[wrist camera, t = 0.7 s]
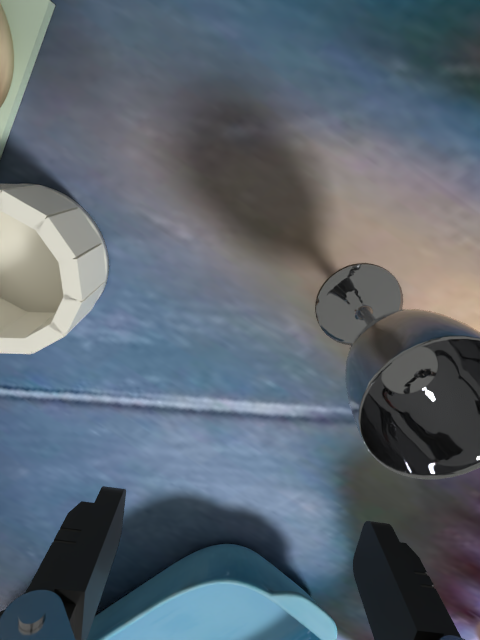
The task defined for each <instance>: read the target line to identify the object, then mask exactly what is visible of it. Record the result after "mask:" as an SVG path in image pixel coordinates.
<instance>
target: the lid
mask: <svg viewBox="0 0 480 640" xmlns="http://www.w3.org/2000/svg"><path fill="white" fill-rule="evenodd" d="M13 70H14V49H13V40H12V35H11V31H10V27H9V24H8V20H7V17H6V14H5V12H4V10H3V7H2V5H1V3H0V108H1V106H2V104H3V103H4V101H5V99H6V97H7V95H8V92H9V90H10V86H11V82H12V78H13Z"/></svg>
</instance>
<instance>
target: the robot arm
mask: <svg viewBox="0 0 480 640" xmlns="http://www.w3.org/2000/svg"><path fill="white" fill-rule="evenodd" d="M125 496H126V489H120V488H112V487H104V486H103V487H102V488H101V490H100V492H99V494H98V496H97V498H96V501H95V503H89V502H80V503H79V504H78V505H77V506H76V507H75V508H74V509H72V510H71V511H70V512H69V513H68V515H67V516H66V518H65V520H64V522H63V524H62V526H61V528H60V530H59V531H58V533H57V535H56V537H55V539H54V542H53V543H52V545H51V546H50V548H49V550H48V552H47V554H46V556H45V558H44V559H43V561H42V563H41V565H40V567H39V569H38V571H37V573H36V574H35V576H34V578H33V580H32V582H31V584H30V586H29V587H28V589H27V591H26V592H25V593H24V595H22V596H20V597H18V598H17V599H15V600H14V601H13V602H12V603H11V604H10V605H9V606H8V607H7V608H6V609H5V610H3V611H1V612H0V640H87V638H88V635H89V632H90V629H91V626H92V623H93V620H94V617H95V614H96V611H97V608H98V605H99V602H100V599H101V596H102V593H103V590H104V587H105V584H106V581H107V578H108V575H109V572H110V569H111V566H112V563H113V560H114V557H115V554H116V551H117V548H118V545H119V541H120V537H121V532H122V525H123V515H124V506H125ZM353 572H354V577H355V581H356V584H357V587H358V590H359V593H360V596H361V599H362V602H363V605H364V609H365V612H366V615H367V618H368V621H369V624H370V627H371V630H372V633H373V636H374V639H375V640H465V639H463V638H461V636H460V634H459V632H458V631H457V629H456V627H455V625H454V623H453V621H452V619H451V617H450V615H449V613H448V612H447V610H446V608H445V606H444V604H443V602H442V600H441V598H440V596H439V594H438V593H437V591H436V589H434V585H433V583H432V581H431V579H430V577H429V576H427V572H426V570H425V568H424V566H423V564H422V562H421V560H420V558H419V557H418V556H417V555H416V554H415V552H414V551H413V550H412V549H411V548H410V547H409V546H408V545H407V544H406V543H401V542H399V540H398V538H397V536H396V534H395V532H394V530H393V528H392V526H391V525H390V524H386V523H378V522H370V521H366V522H365V524H364V526H363V529H362V532H361V535H360V539H359V542H358V545H357V548H356V551H355V555H354V559H353Z"/></svg>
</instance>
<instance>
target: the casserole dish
mask: <svg viewBox="0 0 480 640" xmlns="http://www.w3.org/2000/svg"><path fill="white" fill-rule="evenodd" d="M336 639H337V627H336V624H335V622H334V620H333V619H332V618H331V617H330V616H329V615H328V614H327V613H326V612H325V611H324V610H323V609H322V608H321V607H320V606H318V605H317V604H316V603H315V602H314V600H313V599H312V598H311V597H310V596H309V595H308V594H307V593H306V592H305V591H304V590H303V589H302V588H301V587H299V586H298V585H297V584H296V583H294V582H293V581H292V580H291V579H289V578H288V577H287V576H286V575H285V574H283V573H282V572H281V571H280V570H278V569H277V568H276V567H275V566H273V565H272V564H271V563H270V562H268V561H267V560H266V559H264V558H263V557H262V556H260V555H259V554H257V553H256V552H254V551H252V550H250V549H248V548H246V547H243V546H240V545H235V544H219V545H214V546H210V547H206V548H203V549H201V550H198V551H196V552H194V553H192V554H190V555H188V556H186V557H184V558H183V559H181V560H179V561H177V562H176V563H174V564H173V565H171V566H169V567H168V568H166V569H165V570H163V571H162V572H160V573H159V574H157V575H156V576H154V577H153V578H151V579H150V580H148V581H147V582H145V583H144V584H142V585H141V586H139V587H138V588H136V589H135V590H133V591H132V592H130V593H129V594H127V595H126V596H124V597H123V598H121V599H120V600H118V601H117V602H115V603H114V604H112V605H111V606H109V607H108V608H106V609H105V610H104V611H102V612H101V613H99V614H98V615H96V616H95V617H94V620H93V623H92V626H91V629H90V632H89V635H88V638H87V640H336Z"/></svg>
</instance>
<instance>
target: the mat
mask: <svg viewBox="0 0 480 640" xmlns="http://www.w3.org/2000/svg"><path fill="white" fill-rule="evenodd" d="M0 3H1V5H2V7H3V10H4V12H5V14H6V17H7V20H8V24H9V27H10V31H11V35H12V40H13V49H14V70H13V78H12V82H11V86H10V90H9V92H8V95H7V97H6V99H5V101H4V103H3V104H2V106H1V108H0V159H1V156H2V153H3V150H4V148H5V145H6V142H7V139H8V136H9V134H10V131H11V128H12V125H13V122H14V120H15V117H16V114H17V111H18V108H19V106H20V103H21V100H22V97H23V94H24V92H25V89H26V86H27V83H28V81H29V78H30V75H31V72H32V69H33V67H34V64H35V61H36V58H37V55H38V53H39V50H40V47H41V44H42V41H43V39H44V36H45V33H46V30H47V27H48V25H49V22H50V19H51V16H52V13H53V11H54V8H55V4H54V3H52V2H51V1H50V0H0Z"/></svg>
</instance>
